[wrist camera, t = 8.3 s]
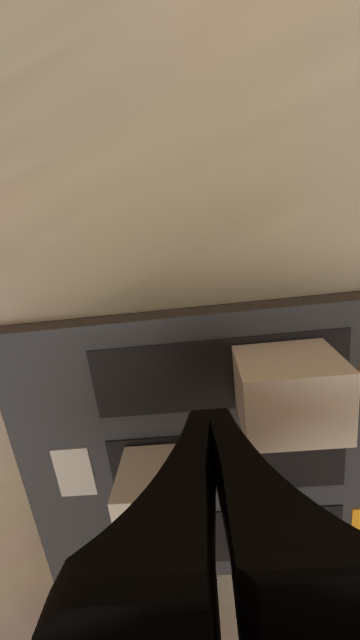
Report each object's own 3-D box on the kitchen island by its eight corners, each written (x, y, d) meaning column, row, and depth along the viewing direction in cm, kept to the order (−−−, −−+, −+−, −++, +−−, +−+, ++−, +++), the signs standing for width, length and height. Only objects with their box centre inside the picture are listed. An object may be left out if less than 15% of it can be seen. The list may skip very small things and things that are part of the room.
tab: (208, 489, 17) (212, 555, 14) (133, 493, 18) (119, 559, 14) (203, 441, 16) (205, 499, 13) (124, 447, 17) (107, 504, 13)
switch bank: (379, 542, 20) (394, 569, 19) (63, 557, 21) (53, 582, 20) (402, 287, 15) (425, 294, 14) (-5, 326, 17) (-24, 337, 15)
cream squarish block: (321, 397, 15) (356, 447, 12) (235, 403, 16) (247, 454, 12) (322, 337, 14) (360, 373, 11) (231, 345, 15) (242, 383, 11)
